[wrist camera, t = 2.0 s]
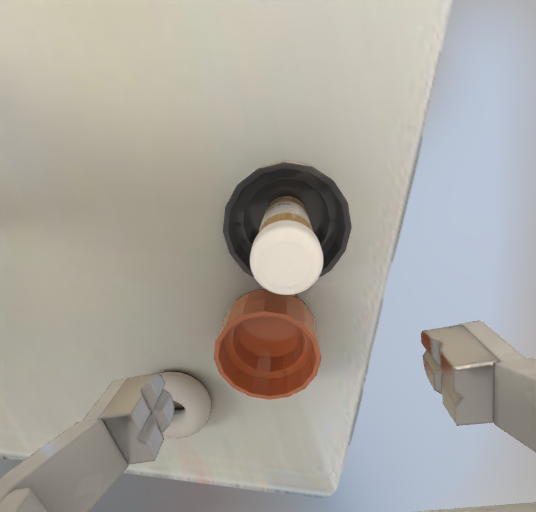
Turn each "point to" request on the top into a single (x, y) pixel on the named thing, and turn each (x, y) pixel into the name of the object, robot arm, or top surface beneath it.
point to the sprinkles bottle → (286, 249)
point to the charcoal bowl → (295, 185)
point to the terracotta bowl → (268, 345)
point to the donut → (186, 404)
